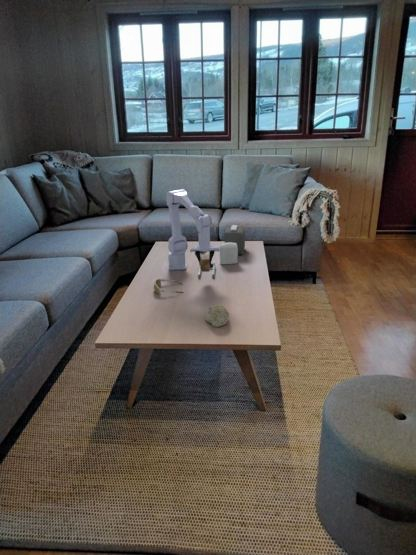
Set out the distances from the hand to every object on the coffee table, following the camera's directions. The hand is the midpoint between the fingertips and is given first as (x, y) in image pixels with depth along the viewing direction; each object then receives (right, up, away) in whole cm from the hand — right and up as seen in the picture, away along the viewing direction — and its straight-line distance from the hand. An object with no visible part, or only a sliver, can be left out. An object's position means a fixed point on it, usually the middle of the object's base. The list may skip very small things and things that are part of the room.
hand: (205, 264), depth 212 cm
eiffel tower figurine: (-2, +9, +47) cm, 48 cm away
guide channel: (+1, -4, +15) cm, 15 cm away
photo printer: (+13, +1, +26) cm, 29 cm away
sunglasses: (-18, -13, -4) cm, 23 cm away
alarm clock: (+18, +9, +44) cm, 49 cm away
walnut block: (0, -2, 0) cm, 2 cm away
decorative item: (+6, -25, -36) cm, 44 cm away
